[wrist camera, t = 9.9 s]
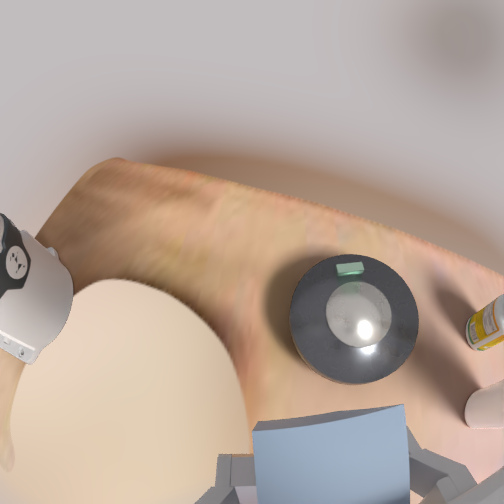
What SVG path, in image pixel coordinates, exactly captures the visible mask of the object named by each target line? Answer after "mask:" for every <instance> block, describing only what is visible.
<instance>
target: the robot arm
mask: <svg viewBox="0 0 504 504" xmlns="http://www.w3.org/2000/svg"><path fill="white" fill-rule="evenodd" d="M72 301H73V282H72V278H71V275H70V273H69V271H68V270H67V268H66V267H65V266H64V265H63V264H62V263H61V262H60V261H59V257H58V253H57V251H56V250H55V249H54V248H52V247H50V248H47V249H46V248H45V247H44V246H43V245H41V244H40V243H39V242H38V241H37V240H36V239H35V238H33V237H32V236H31V235H30V234H29V233H28V232H27V231H24V230H22V231H19V230H18V229H17V228H16V227H15V225H14V223H13V222H12V221H11V220H9V219H8V218H7V217H6V216H5V215H4V214H1V213H0V348H2V349H3V350H5V351H6V352H8V353H10V354H11V355H13V356H15V357H16V358H18V359H20V360H22V361H23V362H25V363H27V364H33V363H34V361H35V360H36V358H37V357H38V355H39V353H40V352H41V350H42V349H43V348H44V347H46V346H47V345H48V344H50V343H51V342H52V341H53V340H54V339H55V338H56V337H57V336H58V334H59V333H60V332H61V330H62V328H63V327H64V325H65V323H66V321H67V318H68V316H69V313H70V310H71V305H72ZM406 428H407V438H408V451H409V470H410V489H411V490H412V491H414V492H415V493H417V494H418V495H420V496H422V497H423V500H422V501H421V502H420V503H419V504H504V466H503V467H502V468H500V469H499V470H498V471H496V472H495V473H494V474H492V475H491V476H489V477H488V478H486V479H485V480H484V481H482V482H481V483H479V484H477V483H476V481H475V480H474V478H473V477H472V475H471V473H470V472H469V470H468V469H467V467H466V466H465V465H463V464H460V463H458V462H455V461H453V460H450V459H448V458H445V457H443V456H440V455H438V454H436V453H433V452H431V451H429V450H427V449H423V450H422V449H421V447H420V446H419V444H418V443H417V441H416V439H415V438H414V436H413V434H412V433H411V431H410V430H409V428H408V426H406ZM195 504H258V500H257V488H256V476H255V463H254V454H219V455H218V460H217V470H216V481H215V487H211V488H210V489H209V490H208V491H207V492H206V493H205V494H204V495H203V496H202V497H201V498H200V499H199V500H198V501H197V502H195Z"/></svg>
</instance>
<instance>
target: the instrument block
mask: <svg viewBox="0 0 504 504" xmlns="http://www.w3.org/2000/svg"><path fill="white" fill-rule="evenodd" d="M252 437H253V450H254V463H255V476H256V488H257V500H258V504H410V470H409V451H408V438H407V428H406V419H405V410H404V404H401V405H394V406H387V407H379V408H370V409H361V410H349V411H337V412H331V413H326V414H320V415H313V416H306V417H299V418H291V419H282V420H271V421H259V422H258V423H257V424H256V426H255V427H254V429H253V431H252Z"/></svg>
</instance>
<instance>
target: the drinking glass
mask: <svg viewBox="0 0 504 504" xmlns="http://www.w3.org/2000/svg"><path fill="white" fill-rule="evenodd" d="M465 420H466V423H467V425H468V426H469V427H471V428H473V429H483V428H504V379H503V380H501V381H499V382H497V383H495V384H493V385H490V386H488V387H485V388H482V389H479V390H477V391H475V392H474V393H473V394H472V395H471V396H470V397H469V399H468V401H467V403H466V407H465Z"/></svg>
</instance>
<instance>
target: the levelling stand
mask: <svg viewBox="0 0 504 504" xmlns="http://www.w3.org/2000/svg"><path fill="white" fill-rule="evenodd" d="M418 327H419V318H418V310H417V306H416V302H415V299H414V297H413V295H412V293H411V291H410V289H409V287H408V286H407V284H406V283H405V281H404V280H403V279H402V278H401V277H400V276H399V275H398V274H397V273H396V272H395V271H394V270H393V269H391V268H390V267H389V266H387V265H386V264H384V263H382V262H380V261H378V260H376V259H373V258H370V257H367V256H362V255H354V254H348V255H339V256H334V257H331V258H328V259H326V260H324V261H322V262H320V263H318V264H316V265H315V266H314V267H312V268H311V269H310V270H309V271H308V272H307V273H306V274H305V275H304V276H303V278H302V279H301V280H300V282H299V284H298V286H297V287H296V289H295V292H294V295H293V298H292V302H291V307H290V313H289V328H290V333H291V337H292V340H293V343H294V346H295V348H296V350H297V352H298V353H299V355H300V356H301V358H302V359H303V361H304V362H305V363H306V364H307V365H308V366H309V367H310V368H311V369H312V370H314V371H315V372H316V373H317V374H319V375H321V376H322V377H324V378H326V379H328V380H331V381H333V382H336V383H340V384H346V385H361V384H367V383H371V382H374V381H377V380H379V379H382V378H384V377H386V376H388V375H390V374H391V373H393V372H394V371H396V370H397V369H398V368H399V367H400V366H401V365H402V364H403V363H404V362H405V360H406V359H407V358H408V356H409V355H410V353H411V351H412V349H413V347H414V345H415V342H416V338H417V334H418Z"/></svg>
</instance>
